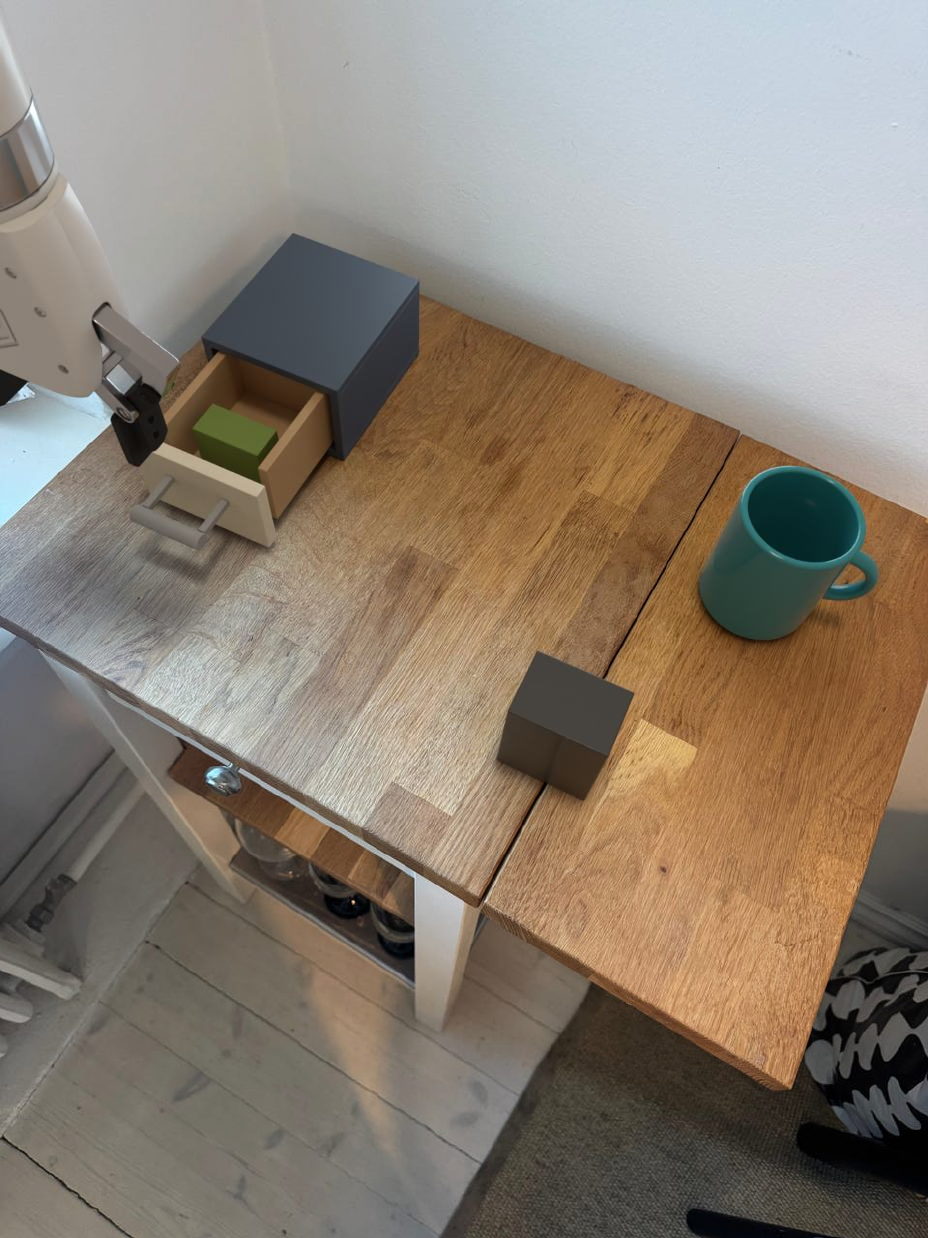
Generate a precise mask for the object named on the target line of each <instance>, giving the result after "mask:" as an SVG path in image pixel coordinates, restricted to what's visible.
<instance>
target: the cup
mask: <svg viewBox="0 0 928 1238" xmlns="http://www.w3.org/2000/svg"><path fill="white" fill-rule="evenodd" d="M866 536H867V523H866V517H865V514H864V511H863V509H862V507H861V505H860V503H859V502H858V500H857V499H856V497H855V496H854V495H853V494H852V493H851V491H850V490H849V489H848V488H846V487H845V486H844V485H843V484H842V483H840V482H839V481H838V480H836V479H834V478H833V477H831V476H830V475H828V474H826V473H824V472H821V471H819V470H816V469H813V468H809V467H806V466H805V467H804V466H798V465H782V466H775V467H771V468H768V469H766V470H763V471H761V472H760V473H758V474H756V475H755V476H754V477H753V478H751V479H750V481H748V483H747V484H746V485H745V487H744V489H743V490H742V492H741V494H740V495H739V498H738V500H737V502H736V503H735V505H734V507H733V509H732V510H731V512H730V514H729V517H728V519H727V520H726V521H725V524H724V526H723V527H722V529H721V532H720V533H719V535H718V537H717V539H716V541H715V542H714V544H713V547H711V550H710V552H709V554H708V556H707V558H706V560H705V561H704V563H703V566H702V568H701V570H700V573H699V579H698V580H699V581H698V585H699V586H698V587H699V588H698V589H699V594H700V598H701V601H702V604H703V605H704V608H705V609H706V611H707V612H708V613H709V615H710V616H711V617H712V618H713V620H715V622H716V623H718V624H719V625H720V626H721V627H722V628H724V629H726V631H729V632H730V633H733V634H734V635H737V636H738V637H742V638H744V639H745V638H746V639H750V640H754V641H772V640H776V639H778V640H779V639H781V638H783V637H787V636H788V635H790V634H792V633H793V632H795V631H796V630H797V629H798V628H799V627H800V626H801V625H802V624H803V623H804V622H805V621H806V619H807V618H808V617H809V616H810V614H811V613H812V612H813V611H814V610H815V608H816V607H817V605H818V604H819V603H820V602H821V600H826V601H834V602H845V601H852V600H857V599H860V598H862V597H865V596H867V595H868V594H870V593H871V592H872V591H873V590H874V589H875V588H876V586H877V585H878V582H879V577H880V573H879V572H880V571H879V567H878V565H877V563H876V561H875V560H874V559H873V557H872V556H871V555H870V554H868V553H867V552H864V550H861V549H862V548H863V546H864V543H865V541H866ZM849 565H851V566H852V567H853V566H854V567H855V568H857V569H858V570H860V571H861V572H862V573H863V575H864V577H862V578H861V579H859V580H858V581H856V582H852V583H847V584H846V583H845V584H836V582H837V580H838V579H839V578H840V576H841V575H842V574H843V573H844V572H845V570H846V569H847V568H848V566H849Z"/></svg>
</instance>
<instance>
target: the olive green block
mask: <svg viewBox="0 0 928 1238" xmlns="http://www.w3.org/2000/svg"><path fill="white" fill-rule="evenodd" d="M192 430H193V433H194V436H195V439H196V442H197V446H198V449H199V452H200V455H201V458H202V459H203V460H205V461H207V462H210V463H212V464H214V465H217V466H219V467H221V468H224V469H226V470H228V471H231V472H233V473H236V474H238V475H240V476H243V477H245V478H247V479H250V480H252V481H254V482H257V483H259V484H261V485H262V483H261V479H260V475H259V470H258V467H259V466H260V465H261V463H262V462H263V461H264V459H265V458H266V457H267V455H268V454H269V453H270V451H271V450H272V449H273V447H274V446H275V445H276V443H277V442H278V441H279V439H278V434H277V430H276V429H273V428H271V427H268V426H266V425H263V424H261V423H259V422H256V421H254V420H251V419H249V418H247V417H244V416H242V415H239V414H237V413H234V412H232V411H230V410H227V409H225V408H222V407H220V406H217V405H215V404H212V405H211V406H210V407H209V409H208V410H207V411H206V412H205V413H204V415H203V416H202V417H201V418H200V419H199V421H198V422H197V423H196V424H195V425H194V427H193V428H192Z"/></svg>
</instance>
